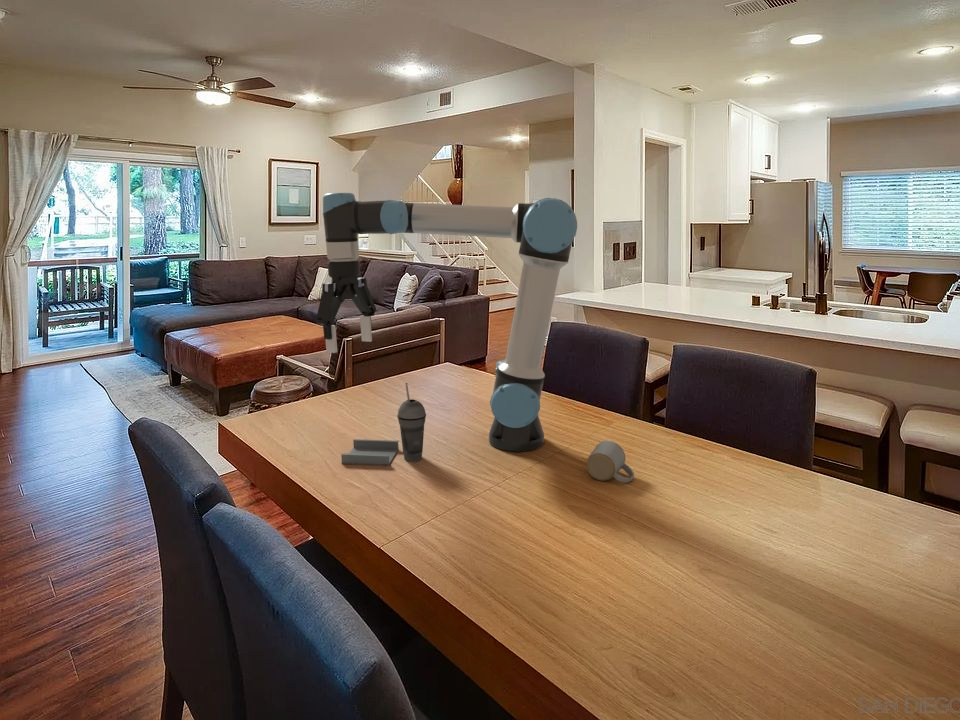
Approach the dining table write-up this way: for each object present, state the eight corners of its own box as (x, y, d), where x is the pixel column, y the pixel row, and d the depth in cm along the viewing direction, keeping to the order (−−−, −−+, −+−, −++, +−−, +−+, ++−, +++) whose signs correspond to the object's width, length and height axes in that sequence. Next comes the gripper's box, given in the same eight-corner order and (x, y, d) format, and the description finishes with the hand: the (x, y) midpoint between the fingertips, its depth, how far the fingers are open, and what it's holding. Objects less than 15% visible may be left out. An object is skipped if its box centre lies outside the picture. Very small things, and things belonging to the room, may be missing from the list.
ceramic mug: (583, 479, 138) (585, 448, 136) (594, 466, 145) (596, 437, 143) (628, 489, 133) (631, 457, 132) (637, 475, 140) (639, 445, 139)
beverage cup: (422, 465, 146) (420, 388, 141) (394, 462, 147) (391, 386, 143) (430, 453, 153) (429, 380, 148) (403, 451, 154) (401, 378, 149)
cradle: (398, 449, 156) (398, 440, 155) (388, 465, 145) (388, 456, 145) (354, 447, 157) (354, 439, 156) (341, 463, 146) (341, 454, 146)
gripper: (362, 256, 153) (368, 336, 158) (294, 263, 131) (303, 356, 136) (386, 256, 149) (391, 338, 154) (320, 264, 128) (328, 358, 133)
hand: (350, 346), depth 145 cm, fingers open, 13 cm apart
